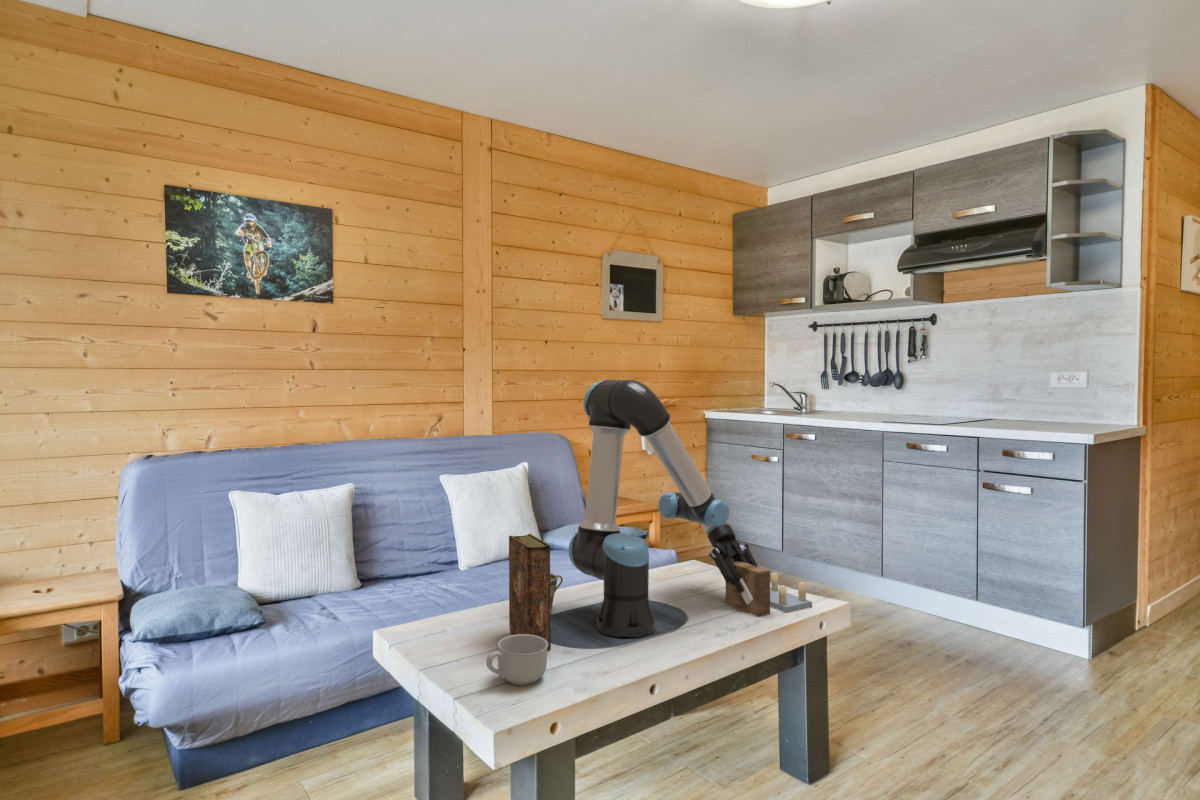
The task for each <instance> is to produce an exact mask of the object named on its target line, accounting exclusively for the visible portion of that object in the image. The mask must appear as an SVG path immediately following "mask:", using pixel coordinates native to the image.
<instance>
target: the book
mask: <svg viewBox="0 0 1200 800" xmlns="http://www.w3.org/2000/svg"><path fill="white" fill-rule="evenodd" d="M550 573H551V544H549V543H547V542H546V541H544V540H542V539H540V538H538V537H537V536H535V535H534V534H532V533H528V534H525V535H516V536H515V535H509V536H508V584H509V585H508V586H509V587H508V590H509V591H508V594H509V595H508V597H509V599H508V601H509V603H508V605H509V606H508V607H509V610H508V611H509V612H508V613H509V615H508V616H509V621H508V623H509V633H510V634H511V635H518V634H529V635H536V636H539V637H541V638H544V639H545V640H546V641H547V642H548V648H547V653H548V652H550V651H551V650H552V649H551V641H552V640H551V639H552V637H551V633H552V632H551V614H550Z"/></svg>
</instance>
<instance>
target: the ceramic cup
mask: <svg viewBox="0 0 1200 800" xmlns="http://www.w3.org/2000/svg"><path fill="white" fill-rule="evenodd" d="M559 578H560V582H559V583H558V584H557V582H558V579H559ZM563 580H564V579H563V577H562V575H559V574H555V573H551V572H550V615H551V613H552V611H553V604H554V598H555V597H554V596H555V593H556V592H557V590H558V589H559V588H560V586H561V585H562V583H563Z"/></svg>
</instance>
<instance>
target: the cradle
mask: <svg viewBox="0 0 1200 800" xmlns="http://www.w3.org/2000/svg"><path fill="white" fill-rule="evenodd" d="M770 606H772V607H771V608H773V607H774V608H773V609H775V608H777V609H776V610H778V609H779V610H778V611H780V610H782V611H781V612H783V611H784V612H783V613H786V612H787V613H790V612H789V611H791V612H795V611H794V610H796V611H799V610H798V609H800V610H803V609H802V608H805V609H809V608H812V607H813V600H808V599H807V583H806V581H798V596H797V595H795V594H792V593H789V592H787V586H786V585H785V584H784V585H783V584H782V585H781V584H780V585H779V573H778V572H770ZM808 607H809V608H808Z"/></svg>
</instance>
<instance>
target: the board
mask: <svg viewBox="0 0 1200 800" xmlns="http://www.w3.org/2000/svg"><path fill="white" fill-rule="evenodd" d="M733 561H734V565H735V567H736V570H737V573H738V575H739V580H740V579H743V581H744V583H745V584H746V586H747V588H748V590H749V592H750V594H751V595H752V597H753V600H752V601H751V602H750V604H746V602H745V600H744V598H743V597H742V595H741V593H739V592H738V590H737V588H736V587H735V585H731V584H730V583H731V582H729V583H727V582H726V581H725V603H726V604H727V603H728V604H727V605H730V604H731V605H730V606H732V605H733V606H732V607H734V606H735V607H734V608H737V607H738V608H737V609H739V608H740V609H739V610H742V609H743V610H742V611H744V610H745V612H746V611H747V612H746V613H749V614H751V613H752V615H754V616H756V617H759V618H761V617H764V616H763V615H765V616H768V615H767V614H769V615H771V607H770V588H771V570H769V569H766V568H763V567H760V566H758V567H757V566H754V565H751V564H748V563H744V562H740V561H736V560H733Z"/></svg>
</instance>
